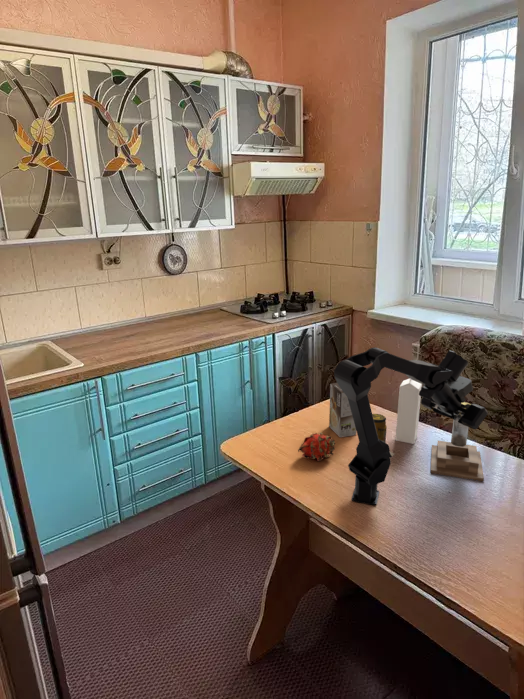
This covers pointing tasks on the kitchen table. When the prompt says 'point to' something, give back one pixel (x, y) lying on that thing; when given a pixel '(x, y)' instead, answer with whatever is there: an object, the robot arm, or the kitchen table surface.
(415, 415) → the milk
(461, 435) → the pin
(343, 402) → the coffee box
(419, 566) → the kitchen table surface
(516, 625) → the kitchen table surface
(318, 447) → the dragon fruit
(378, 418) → the condiment
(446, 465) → the block
